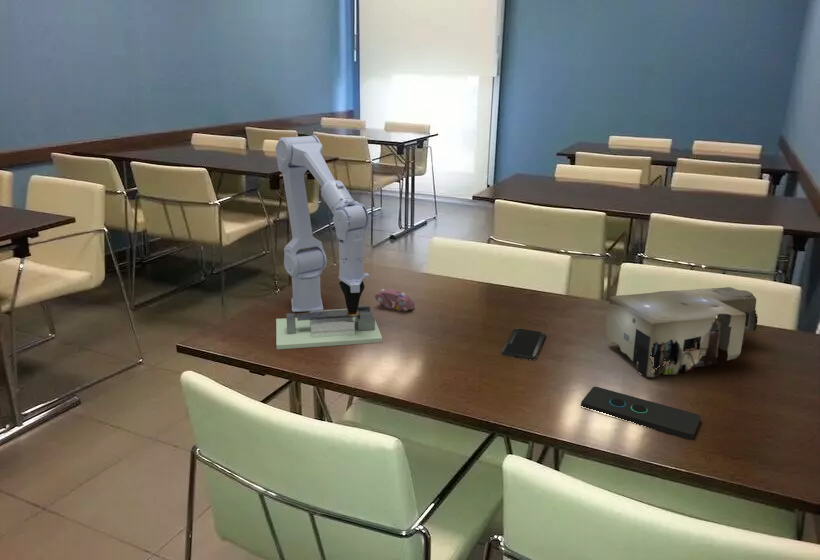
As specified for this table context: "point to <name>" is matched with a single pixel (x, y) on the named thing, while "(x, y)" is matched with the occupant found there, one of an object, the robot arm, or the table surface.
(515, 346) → the phone
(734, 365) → the table surface
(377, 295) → the pink plastic car shape
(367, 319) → the hinge and catch
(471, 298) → the table surface
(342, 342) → the pale green board
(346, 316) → the bar
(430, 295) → the table surface
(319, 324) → the heat sink
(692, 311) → the grey boxy piece
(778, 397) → the table surface
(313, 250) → the robot arm
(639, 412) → the smart home device
